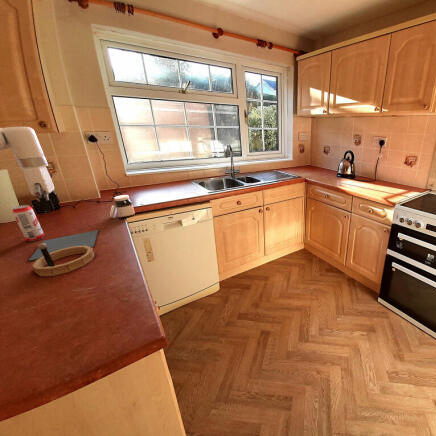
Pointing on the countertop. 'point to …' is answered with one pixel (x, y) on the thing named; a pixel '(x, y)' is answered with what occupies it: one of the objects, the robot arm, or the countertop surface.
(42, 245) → the post stand
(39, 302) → the countertop surface
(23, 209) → the beer can
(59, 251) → the hoop
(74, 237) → the mat
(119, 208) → the spread jar
